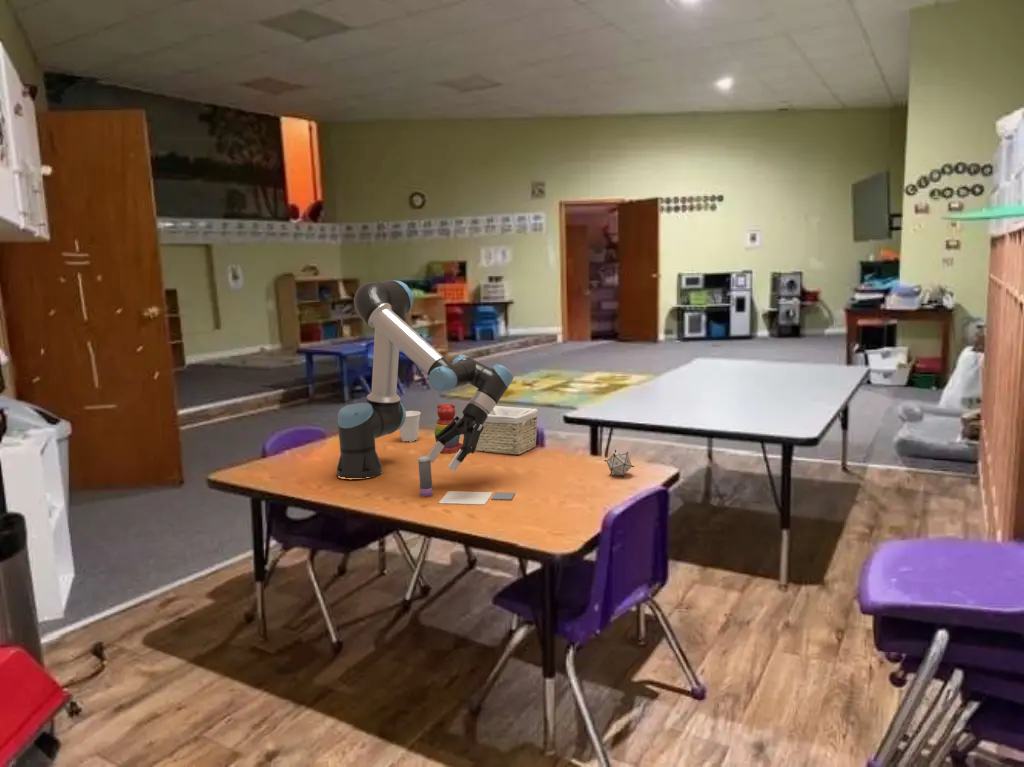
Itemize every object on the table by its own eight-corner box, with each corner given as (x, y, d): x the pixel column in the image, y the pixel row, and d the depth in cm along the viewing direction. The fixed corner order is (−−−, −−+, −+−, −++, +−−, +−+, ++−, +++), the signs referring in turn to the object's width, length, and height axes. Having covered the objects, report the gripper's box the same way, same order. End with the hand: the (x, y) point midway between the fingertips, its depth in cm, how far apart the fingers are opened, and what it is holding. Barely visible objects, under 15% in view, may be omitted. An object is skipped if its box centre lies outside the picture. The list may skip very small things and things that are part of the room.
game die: (625, 486, 242) (644, 462, 239) (610, 483, 235) (630, 459, 233) (608, 467, 247) (627, 444, 245) (594, 464, 241) (612, 440, 238)
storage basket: (464, 450, 279) (461, 412, 277) (487, 440, 293) (485, 403, 291) (519, 457, 267) (517, 417, 265) (541, 446, 281) (539, 408, 278)
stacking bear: (464, 446, 285) (462, 400, 282) (460, 453, 275) (458, 406, 272) (436, 447, 286) (434, 401, 283) (431, 454, 276) (428, 406, 273)
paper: (438, 503, 220) (438, 502, 220) (448, 491, 231) (448, 491, 231) (484, 504, 218) (484, 504, 218) (493, 492, 228) (492, 492, 228)
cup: (393, 443, 294) (391, 416, 292) (401, 437, 304) (399, 410, 302) (418, 443, 292) (416, 416, 291) (425, 437, 302) (423, 410, 300)
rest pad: (491, 499, 222) (491, 498, 222) (495, 493, 228) (495, 492, 228) (511, 500, 221) (511, 499, 221) (515, 493, 226) (515, 492, 226)
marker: (418, 496, 227) (416, 458, 225) (422, 492, 231) (420, 455, 229) (430, 497, 227) (428, 458, 225) (434, 493, 230) (431, 455, 228)
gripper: (508, 422, 226) (469, 480, 220) (465, 410, 247) (428, 463, 241) (492, 407, 222) (452, 466, 217) (450, 396, 243) (412, 450, 237)
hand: (439, 464), depth 229 cm, fingers open, 13 cm apart
